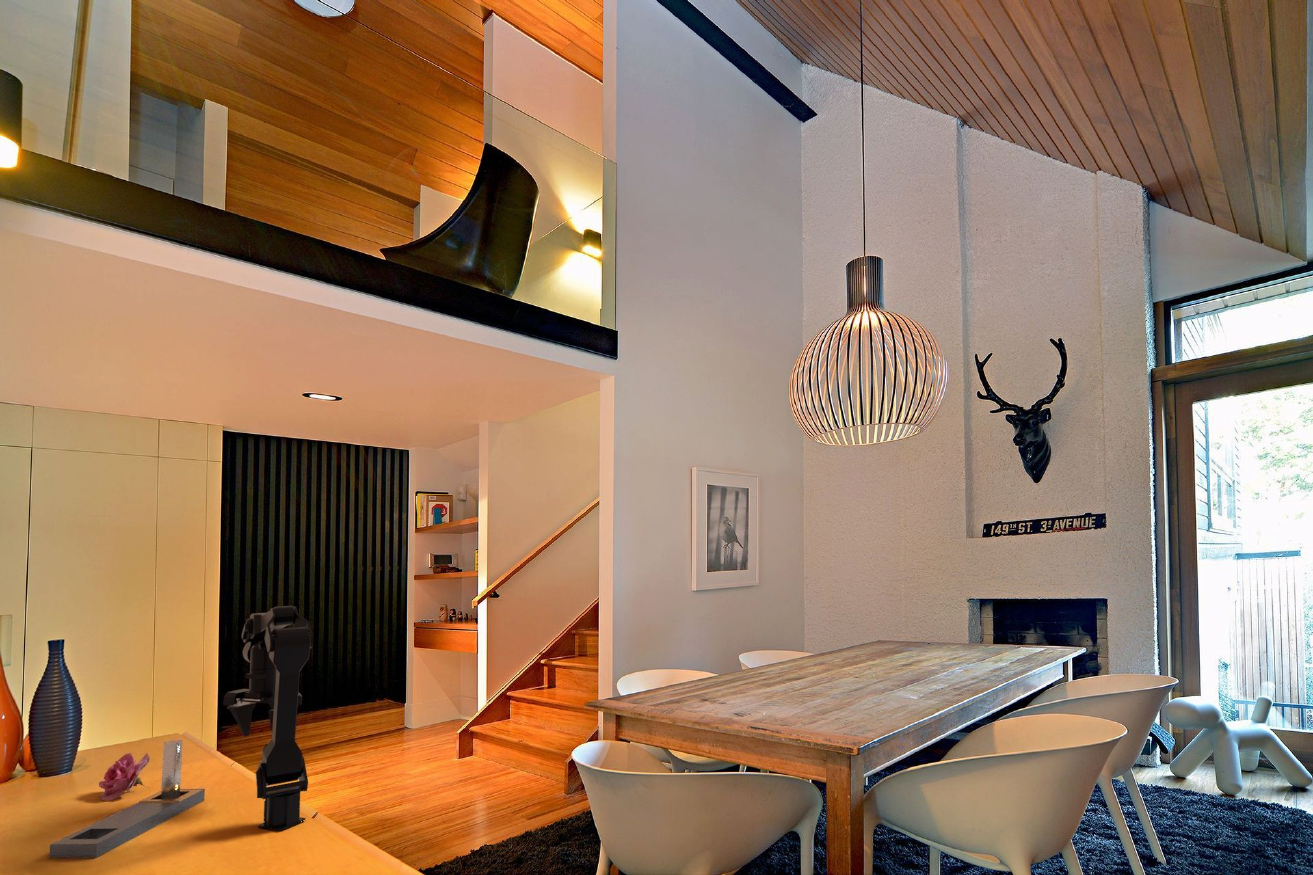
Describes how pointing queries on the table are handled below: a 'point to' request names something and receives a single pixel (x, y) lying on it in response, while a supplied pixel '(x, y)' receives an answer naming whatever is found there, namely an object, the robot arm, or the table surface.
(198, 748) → the table surface
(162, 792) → the peg
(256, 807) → the table surface
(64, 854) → the rail
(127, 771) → the flower
